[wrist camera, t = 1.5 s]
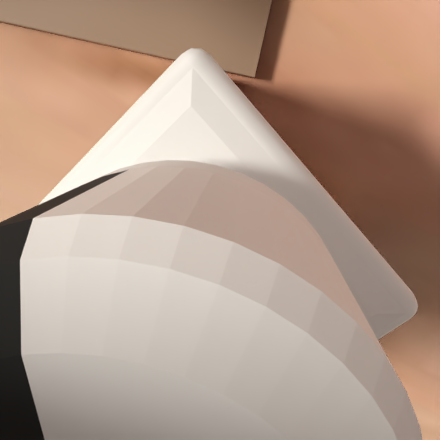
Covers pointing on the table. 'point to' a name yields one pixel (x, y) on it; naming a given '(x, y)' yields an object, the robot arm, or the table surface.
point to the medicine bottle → (196, 288)
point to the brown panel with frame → (154, 26)
